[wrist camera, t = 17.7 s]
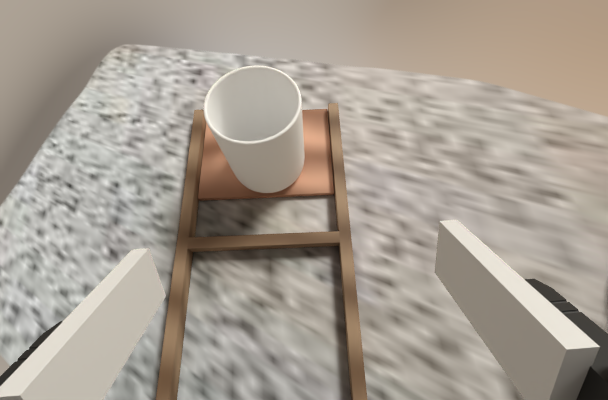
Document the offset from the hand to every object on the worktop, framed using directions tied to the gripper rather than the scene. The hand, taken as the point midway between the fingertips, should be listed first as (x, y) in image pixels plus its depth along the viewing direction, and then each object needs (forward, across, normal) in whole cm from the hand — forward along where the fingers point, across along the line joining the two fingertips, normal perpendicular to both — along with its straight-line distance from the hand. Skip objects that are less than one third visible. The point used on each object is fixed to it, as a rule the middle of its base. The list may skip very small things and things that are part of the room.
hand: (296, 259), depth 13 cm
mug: (+24, +4, 0) cm, 25 cm away
